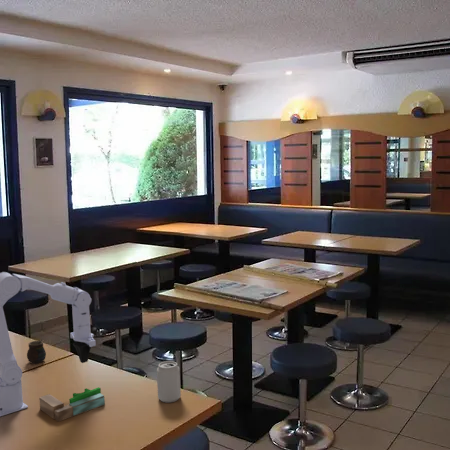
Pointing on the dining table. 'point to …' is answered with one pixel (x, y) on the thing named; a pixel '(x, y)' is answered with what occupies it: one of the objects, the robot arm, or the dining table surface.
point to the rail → (79, 407)
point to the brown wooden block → (50, 404)
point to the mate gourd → (36, 352)
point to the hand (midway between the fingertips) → (84, 361)
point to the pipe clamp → (84, 394)
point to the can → (168, 381)
